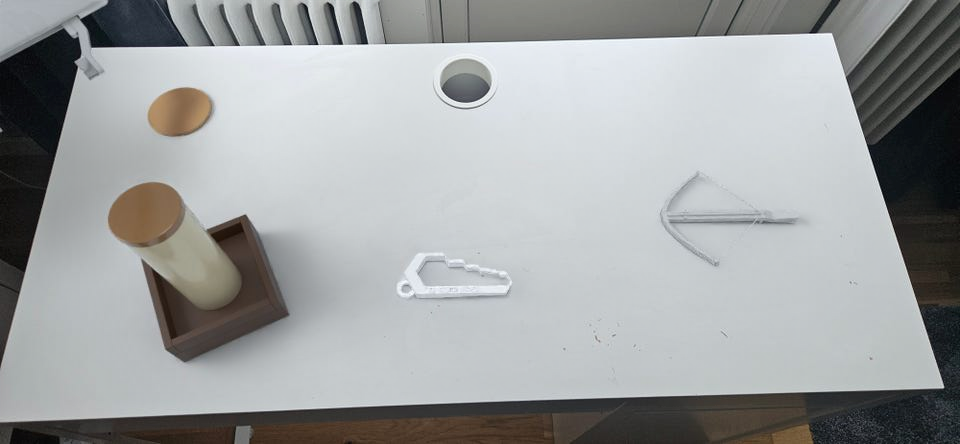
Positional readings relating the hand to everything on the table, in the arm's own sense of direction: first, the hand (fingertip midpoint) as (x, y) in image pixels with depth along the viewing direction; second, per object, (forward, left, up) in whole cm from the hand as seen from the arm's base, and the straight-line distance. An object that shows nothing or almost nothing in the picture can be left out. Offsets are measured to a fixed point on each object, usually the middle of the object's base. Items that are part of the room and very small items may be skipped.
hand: (47, 105), depth 51 cm
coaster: (+6, +16, -22) cm, 28 cm away
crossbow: (+61, -30, -22) cm, 71 cm away
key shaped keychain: (+28, -22, -22) cm, 42 cm away
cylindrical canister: (+4, -12, -20) cm, 23 cm away
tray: (+4, -12, -22) cm, 25 cm away
